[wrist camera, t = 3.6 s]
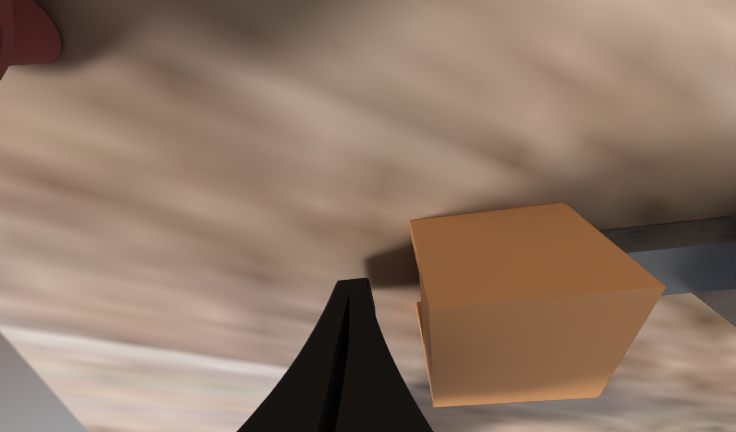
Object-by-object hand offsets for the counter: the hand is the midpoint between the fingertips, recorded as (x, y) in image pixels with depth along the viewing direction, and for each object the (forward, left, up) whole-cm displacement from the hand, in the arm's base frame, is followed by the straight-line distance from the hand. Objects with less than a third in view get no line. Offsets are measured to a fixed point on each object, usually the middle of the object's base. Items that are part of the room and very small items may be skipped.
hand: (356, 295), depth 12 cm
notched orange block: (0, -6, -1) cm, 6 cm away
